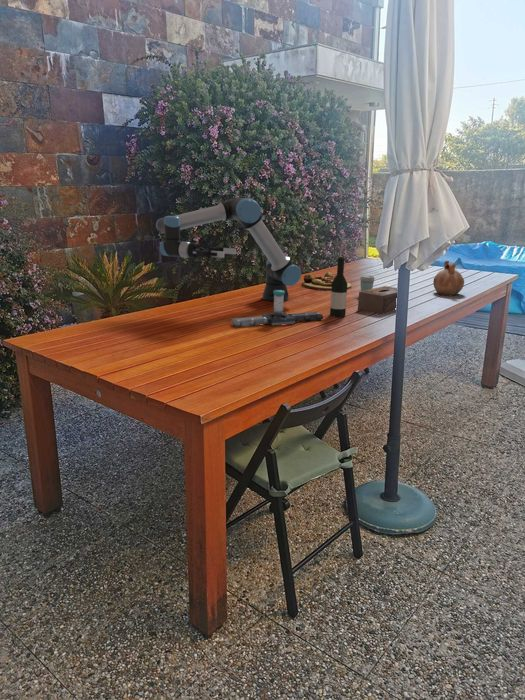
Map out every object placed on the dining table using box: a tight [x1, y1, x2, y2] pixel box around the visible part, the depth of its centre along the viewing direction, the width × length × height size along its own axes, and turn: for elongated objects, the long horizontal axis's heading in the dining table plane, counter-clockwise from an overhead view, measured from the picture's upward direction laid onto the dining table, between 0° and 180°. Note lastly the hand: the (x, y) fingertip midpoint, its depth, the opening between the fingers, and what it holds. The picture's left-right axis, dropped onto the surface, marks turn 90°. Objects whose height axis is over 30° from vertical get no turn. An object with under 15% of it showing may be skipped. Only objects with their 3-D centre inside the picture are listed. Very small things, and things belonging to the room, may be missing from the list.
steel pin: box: [273, 290, 285, 318], centre depth 268 cm, size 5×5×15 cm
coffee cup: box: [359, 274, 375, 291], centre depth 334 cm, size 8×9×12 cm
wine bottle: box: [329, 255, 348, 318], centre depth 283 cm, size 8×8×30 cm
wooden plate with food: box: [301, 271, 352, 291], centre depth 364 cm, size 32×32×8 cm
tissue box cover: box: [357, 285, 398, 315], centre depth 304 cm, size 26×14×10 cm, turn 136°
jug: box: [432, 260, 465, 297], centre depth 346 cm, size 18×18×20 cm
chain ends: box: [230, 311, 324, 328], centre depth 270 cm, size 12×46×3 cm, turn 114°
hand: (230, 253), depth 265 cm, fingers open, 13 cm apart
